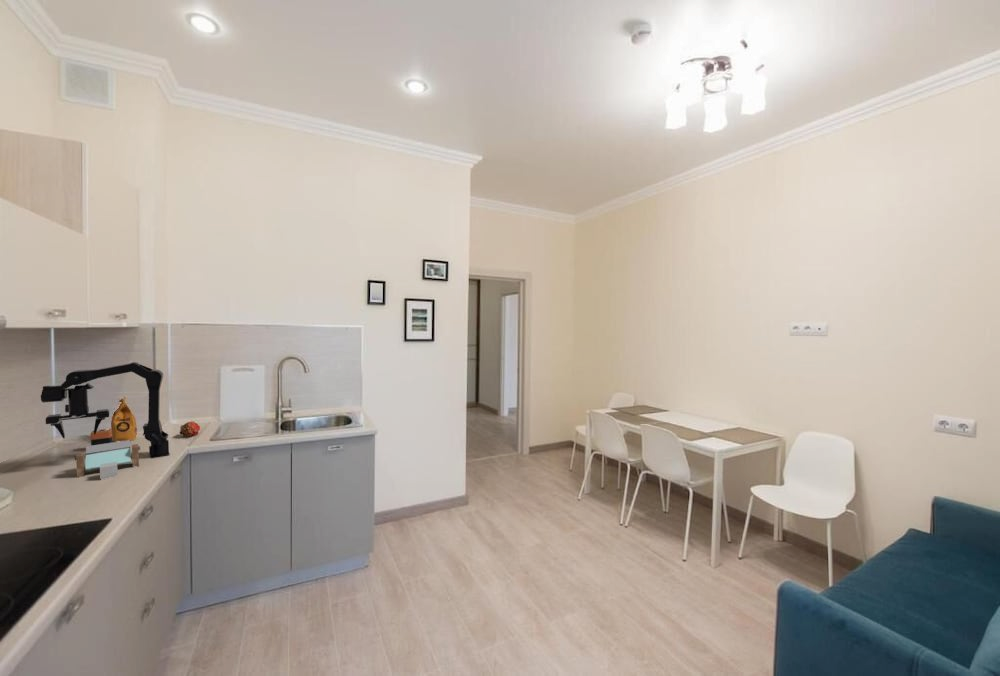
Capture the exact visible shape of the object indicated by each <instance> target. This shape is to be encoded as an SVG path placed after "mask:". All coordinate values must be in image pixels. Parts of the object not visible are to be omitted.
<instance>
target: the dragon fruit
mask: <svg viewBox="0 0 1000 676" xmlns="http://www.w3.org/2000/svg"><path fill="white" fill-rule="evenodd" d="M200 430H201V426H200V425H199V424H198V423H197V422H195V421H192V420H191V421H188V422H186V423H184V424H182V425H181V426H180V429H179V434H180V435H182V436H185V437H186V438H191V437H192V436H197V435H199V431H200ZM190 436H191V437H190Z"/></svg>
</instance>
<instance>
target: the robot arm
mask: <svg viewBox="0 0 1000 676" xmlns="http://www.w3.org/2000/svg"><path fill="white" fill-rule="evenodd" d="M127 373H134V374H135V375H138V376H139V377H141V378H143V379H145V383H146V387H147V390H148V417H147V419H148V421H147V423H144V424H143V426H142V429H143V433H142V436H144V439H145V440H147V441H149V442H150V445H149V446H148V450H149V451H148V453H149V457H150V458H151V459H153V458H154V457H155V458H160V457H165V456H170V445H169V443H170V441H169V439H168V438H169V434H168V433H167V432H165V431H164V430H163V428H162V427H163V426H162V422H161V419H160V408H161V407H160V401H161V400H160V397H161V393H160V392H161V391H160V390H161V386H162V382H163V378H164V373H163V371H161V370H159V369H153V368H151V367H148V366H145V365H143V364H142V363H141V364H140V363H139V362H135V361H133V362H130V363H125V364H121V365H120V364H119V365H114V366H113V365H112V366H108V367H104V368H103V367H102V368H99V369H98V368H97V369H96V368H95V369H76V370H74V371H71V372H69V373H68V374H67V375H66V377H65V381H64V382H62V383H61V385H60V384H59V385H44V386H42V391H41V394H40V401H41V403H43V404H44V403H54V402H55V403H56V402H63V401H64V400H65V399H67V398H68V404H65V406H64V412H65V413H68V415H67V414H66V415H61V414H62V413H57V414H49V415H47V416H46V417H45V425H50V426H53V427H55V428H56V430H58V432H59V434H60V435H61V437H62V438H63V439H65V438H66V435H65V430H64V426H63V424H64V423H63V421H65V420H66V421H67V420H76V419H84V418H85V419H86V418H95V422H94V428H93V431H94V434H96V431H97V429H99V426H100V424H101V423H102V421H104V420H105V419H106V418H109V417H110V409H108V408H105V409H104V408H103V409H97V410H96V411H95V412H93V411H92V412H90V408H89V402H88V399H89V398H88V397H89V396H88V395H89V394H88V390H92V389H94V386H93V385H91V384H90V383H89V382H90V381H94V380H96V379H100V378H106V377H111V376H116V375H121V374H127ZM87 382H88V383H87ZM82 384H83V385H82ZM72 386H74V387H72Z"/></svg>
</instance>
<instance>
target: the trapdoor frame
mask: <svg viewBox="0 0 1000 676" xmlns="http://www.w3.org/2000/svg"><path fill="white" fill-rule="evenodd" d="M140 450H141V446H139V444H138V443H137V444H131V463H132V464H133V465H132V468H135V467H134V466H137V467H140V464H139V462H140V459H139V457H140V456H139V451H140ZM74 460H75V463H76V477H77V478H79V477H78V476H82V477H85V475H84V474H86V461H85V452H77V453H76V455H74Z"/></svg>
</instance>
